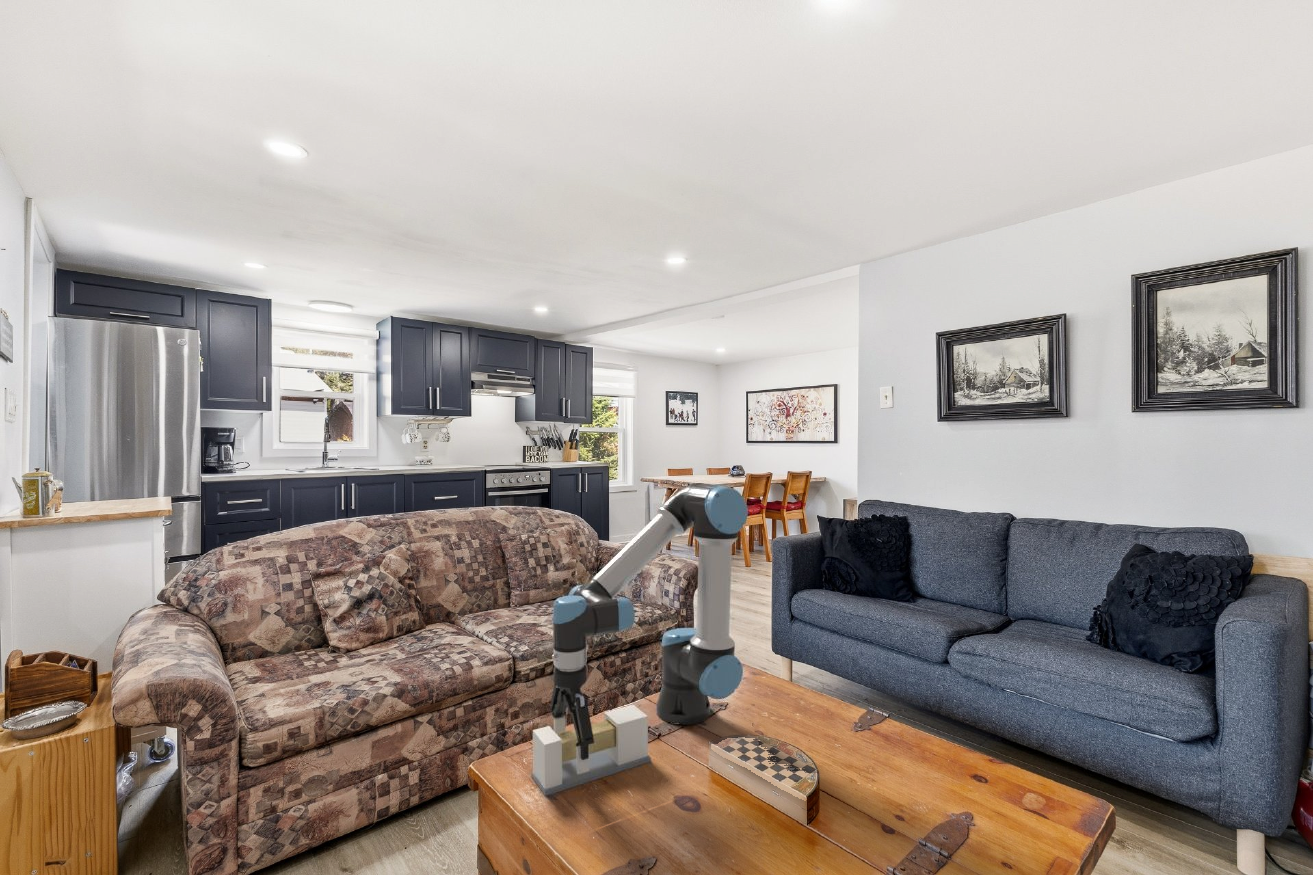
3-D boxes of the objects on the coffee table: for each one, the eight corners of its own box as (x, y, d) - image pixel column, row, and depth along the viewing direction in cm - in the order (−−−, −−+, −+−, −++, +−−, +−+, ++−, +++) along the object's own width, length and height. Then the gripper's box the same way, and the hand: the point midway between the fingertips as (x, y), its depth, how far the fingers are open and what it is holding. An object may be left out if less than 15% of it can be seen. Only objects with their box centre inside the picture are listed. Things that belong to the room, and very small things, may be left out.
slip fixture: (632, 744, 154) (632, 702, 154) (650, 761, 146) (650, 716, 146) (531, 775, 140) (530, 729, 140) (545, 795, 132) (544, 746, 132)
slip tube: (611, 737, 148) (611, 718, 148) (620, 745, 144) (619, 726, 144) (540, 758, 139) (540, 738, 139) (547, 767, 135) (547, 747, 135)
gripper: (535, 652, 149) (536, 738, 149) (576, 688, 128) (577, 789, 128) (564, 646, 153) (565, 730, 153) (608, 680, 131) (609, 779, 132)
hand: (570, 757), depth 140 cm, fingers open, 13 cm apart
